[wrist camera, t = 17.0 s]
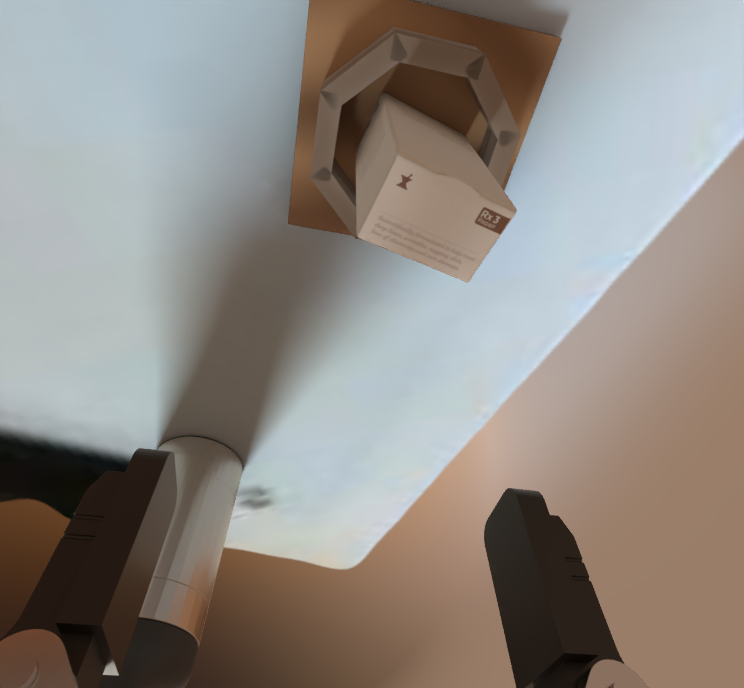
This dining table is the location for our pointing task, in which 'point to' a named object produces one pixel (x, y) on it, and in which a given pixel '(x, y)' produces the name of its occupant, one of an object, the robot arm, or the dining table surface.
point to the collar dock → (406, 91)
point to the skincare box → (426, 191)
